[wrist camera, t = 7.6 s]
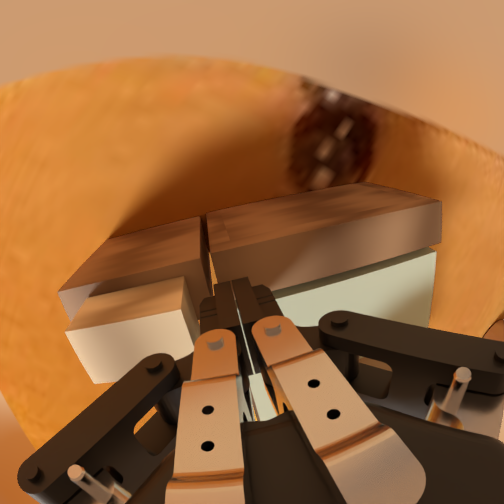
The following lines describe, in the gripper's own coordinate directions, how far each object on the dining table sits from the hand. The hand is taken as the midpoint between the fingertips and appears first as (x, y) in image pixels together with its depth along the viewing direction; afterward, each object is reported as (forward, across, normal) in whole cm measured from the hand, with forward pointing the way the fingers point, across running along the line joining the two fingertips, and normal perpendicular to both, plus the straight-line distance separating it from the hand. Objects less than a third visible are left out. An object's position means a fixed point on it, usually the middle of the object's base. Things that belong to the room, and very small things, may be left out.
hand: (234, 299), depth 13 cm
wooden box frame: (+10, -2, +9) cm, 13 cm away
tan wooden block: (+1, +4, 0) cm, 4 cm away
